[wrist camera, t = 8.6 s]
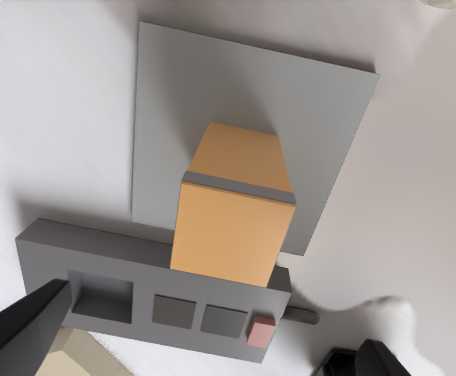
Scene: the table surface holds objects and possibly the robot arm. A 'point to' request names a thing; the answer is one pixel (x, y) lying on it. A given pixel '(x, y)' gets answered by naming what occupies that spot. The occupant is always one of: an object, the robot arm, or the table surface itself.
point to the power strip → (154, 293)
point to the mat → (240, 117)
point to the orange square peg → (233, 206)
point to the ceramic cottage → (440, 3)
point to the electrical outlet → (79, 357)
